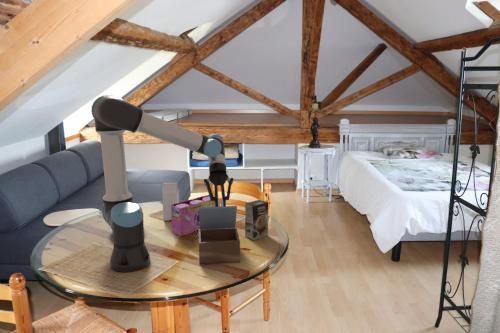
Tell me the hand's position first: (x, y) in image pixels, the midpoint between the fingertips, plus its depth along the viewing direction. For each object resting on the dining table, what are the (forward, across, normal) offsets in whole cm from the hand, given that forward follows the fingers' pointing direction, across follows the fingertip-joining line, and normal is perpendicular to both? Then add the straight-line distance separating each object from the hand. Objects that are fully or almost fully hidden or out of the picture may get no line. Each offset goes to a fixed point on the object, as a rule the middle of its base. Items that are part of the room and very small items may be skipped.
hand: (221, 214), depth 170 cm
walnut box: (+14, +2, -9) cm, 17 cm away
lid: (+1, +2, -1) cm, 2 cm away
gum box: (-9, +11, -33) cm, 36 cm away
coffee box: (+1, -17, -22) cm, 28 cm away
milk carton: (-20, +23, -43) cm, 53 cm away
